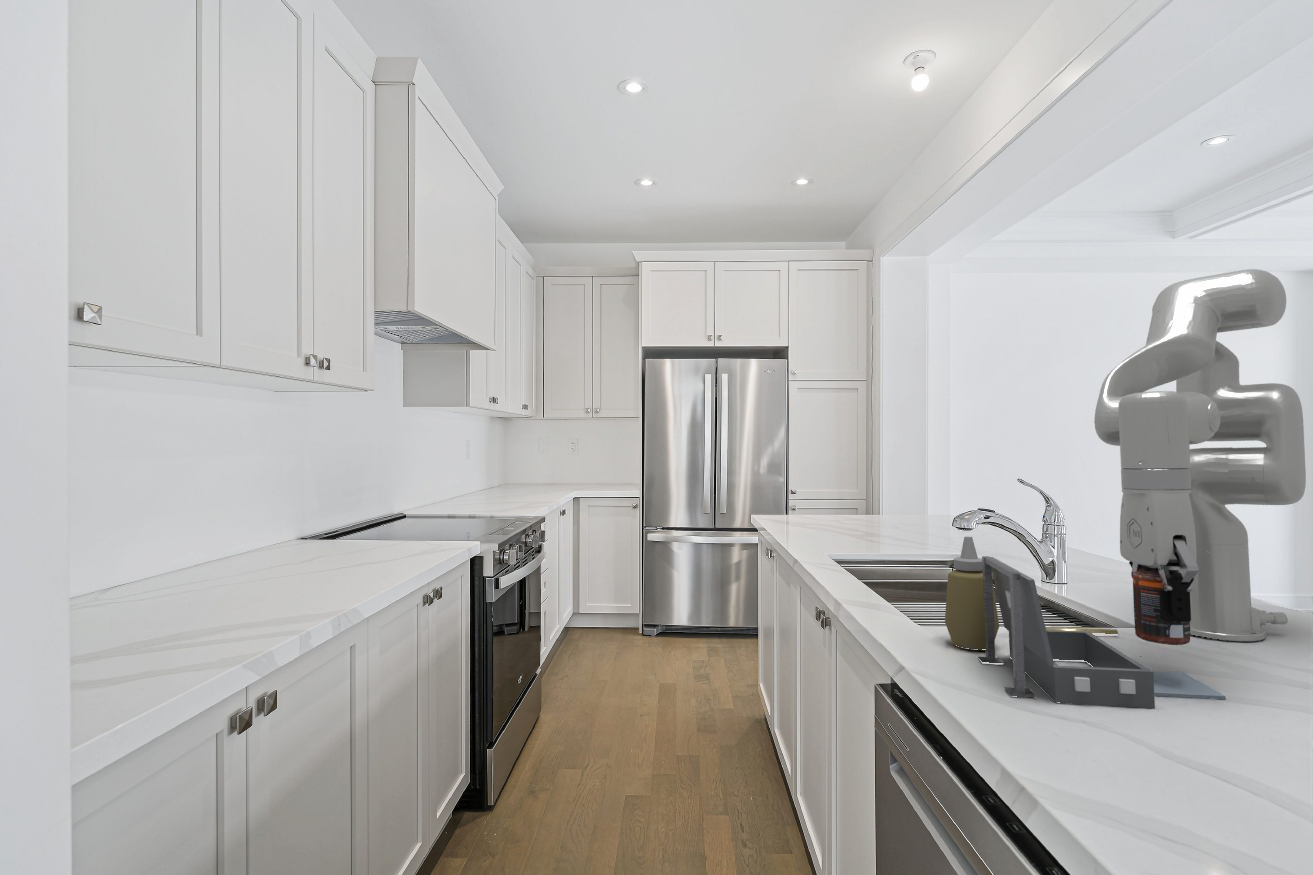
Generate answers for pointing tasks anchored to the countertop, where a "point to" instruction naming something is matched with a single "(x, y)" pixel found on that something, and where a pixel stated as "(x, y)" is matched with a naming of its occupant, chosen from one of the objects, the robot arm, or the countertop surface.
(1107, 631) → the rod
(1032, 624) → the lid
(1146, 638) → the supplement bottle
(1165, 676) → the mat
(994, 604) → the squeeze bottle
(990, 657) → the stay bracket
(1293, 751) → the countertop surface
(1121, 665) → the case
